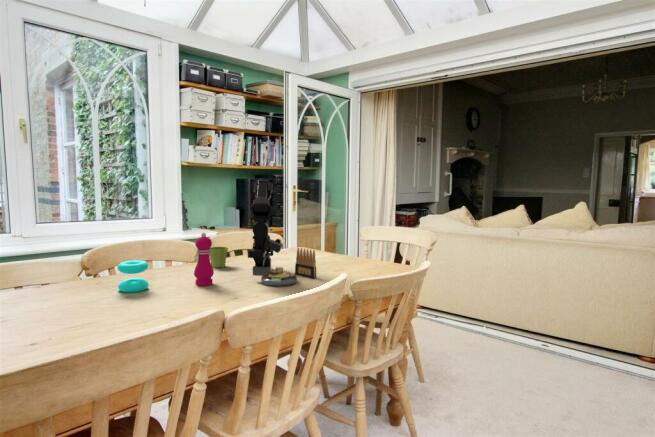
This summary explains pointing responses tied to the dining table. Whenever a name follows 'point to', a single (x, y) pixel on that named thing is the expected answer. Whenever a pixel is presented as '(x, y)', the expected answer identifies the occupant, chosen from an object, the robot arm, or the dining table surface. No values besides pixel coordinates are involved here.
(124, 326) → the dining table surface
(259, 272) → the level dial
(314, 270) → the ammunition clip
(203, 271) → the pepper mill
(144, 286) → the donuts
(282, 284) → the base
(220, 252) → the plant pot
